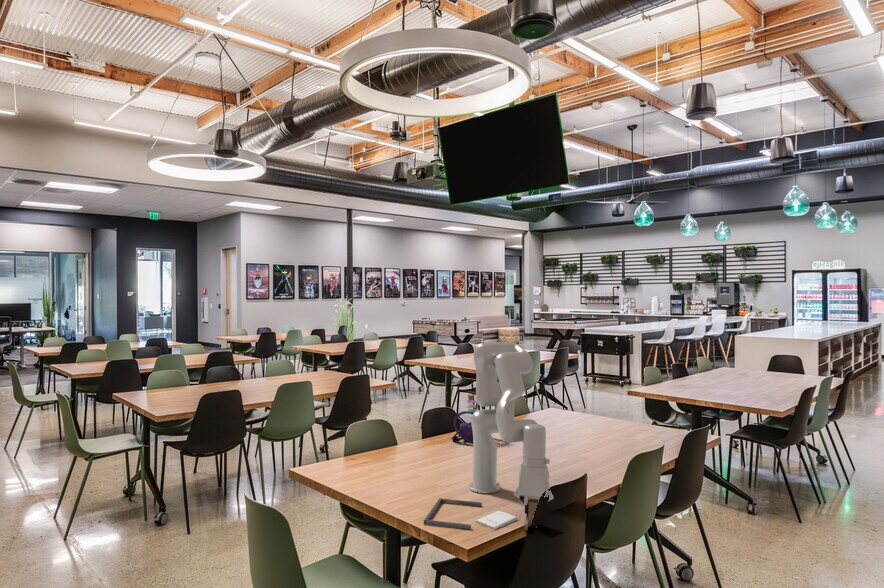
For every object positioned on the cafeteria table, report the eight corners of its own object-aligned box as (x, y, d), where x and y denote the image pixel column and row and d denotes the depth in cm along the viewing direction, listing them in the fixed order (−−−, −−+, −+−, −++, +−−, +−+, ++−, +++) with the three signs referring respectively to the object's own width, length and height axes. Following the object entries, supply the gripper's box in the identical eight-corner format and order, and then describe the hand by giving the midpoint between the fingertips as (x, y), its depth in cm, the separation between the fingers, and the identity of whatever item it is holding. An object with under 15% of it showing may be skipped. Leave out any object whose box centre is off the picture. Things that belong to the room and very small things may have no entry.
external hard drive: (516, 521, 187) (494, 531, 178) (498, 514, 192) (475, 524, 184) (517, 516, 187) (494, 526, 178) (498, 510, 192) (475, 519, 184)
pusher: (527, 517, 188) (527, 494, 188) (538, 518, 187) (539, 495, 187) (524, 530, 177) (524, 505, 177) (536, 531, 176) (537, 507, 176)
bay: (439, 501, 203) (439, 498, 203) (481, 505, 199) (481, 502, 199) (423, 524, 182) (423, 520, 182) (470, 529, 178) (470, 525, 178)
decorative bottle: (462, 434, 310) (462, 390, 311) (496, 438, 300) (496, 393, 301) (443, 442, 291) (444, 395, 291) (479, 447, 281) (480, 399, 281)
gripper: (559, 460, 184) (558, 515, 184) (511, 456, 188) (510, 510, 187) (558, 467, 177) (557, 523, 176) (508, 462, 181) (507, 518, 180)
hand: (533, 516), depth 182 cm, fingers closed on pusher, 3 cm apart
